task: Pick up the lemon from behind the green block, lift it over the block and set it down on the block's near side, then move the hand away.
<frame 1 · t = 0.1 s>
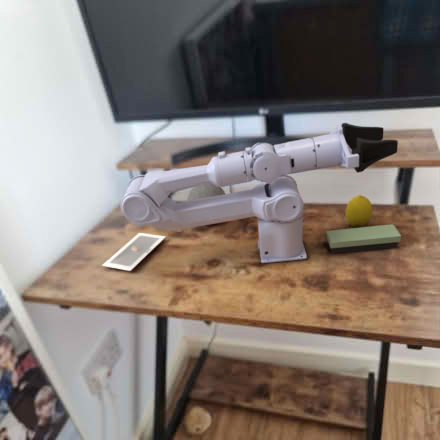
hand: (389, 139, 73), 22 cm above the table, tool horizontal, fingers open, 7 cm apart
decorative ball: (210, 221, 103), on the table
green block: (361, 245, 86), on the table
touchpad: (136, 255, 94), on the table
lemon: (356, 229, 92), on the table
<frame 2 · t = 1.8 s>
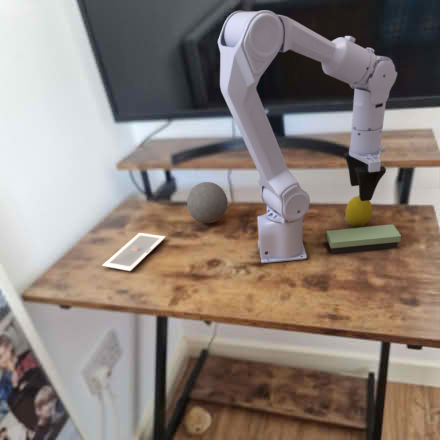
hand: (360, 192, 86), 9 cm above the table, tool pointing down, fingers open, 7 cm apart
nothing on the table moved.
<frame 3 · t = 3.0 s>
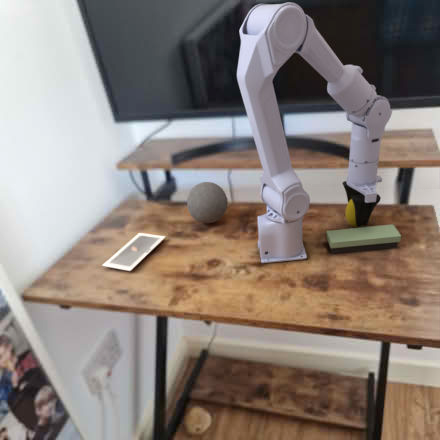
hand: (357, 218, 90), 2 cm above the table, tool pointing down, fingers closed on lemon, 5 cm apart
lemon: (356, 228, 92), on the table, touching gripper
everything else where it was.
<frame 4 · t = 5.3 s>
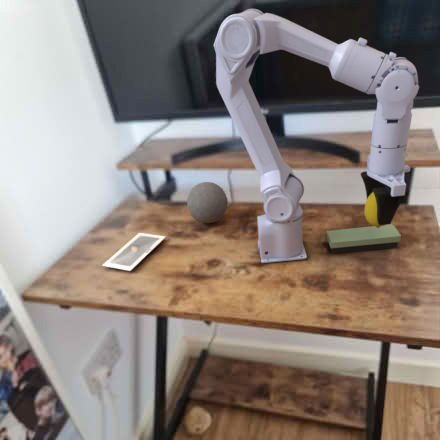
hand: (379, 216, 76), 9 cm above the table, tool pointing down, fingers closed on lemon, 5 cm apart
lemon: (377, 228, 77), point 7 cm above the table, touching gripper
everything else where it was.
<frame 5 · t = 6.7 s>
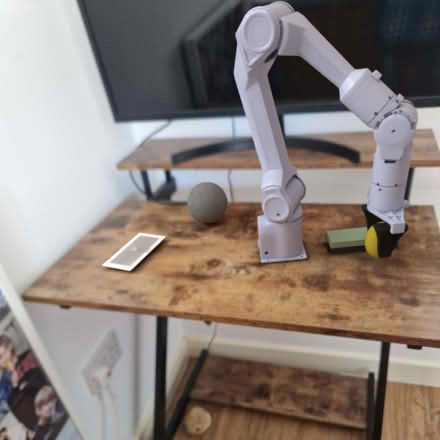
hand: (379, 248, 77), 4 cm above the table, tool pointing down, fingers closed on lemon, 5 cm apart
lemon: (377, 259, 79), point 1 cm above the table, touching gripper
everything else where it was.
when the fingers open (2 cm above the table, at t = 7.8 s): lemon stays where it is, on the table.
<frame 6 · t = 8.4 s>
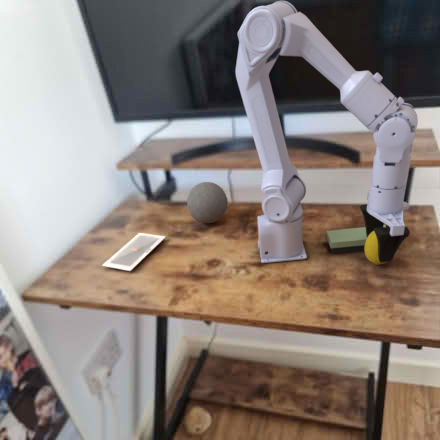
hand: (378, 250, 78), 3 cm above the table, tool pointing down, fingers open, 7 cm apart
lemon: (377, 265, 80), on the table
everything else where it was.
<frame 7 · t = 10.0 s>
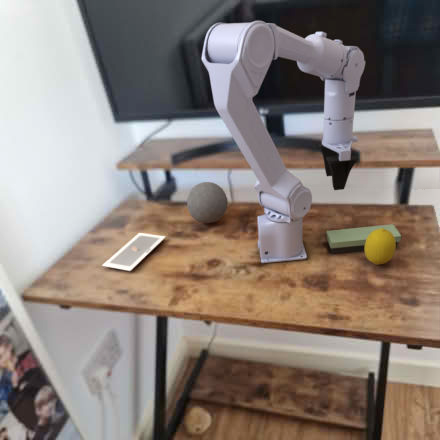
hand: (334, 182, 88), 10 cm above the table, tool pointing down, fingers open, 7 cm apart
nothing on the table moved.
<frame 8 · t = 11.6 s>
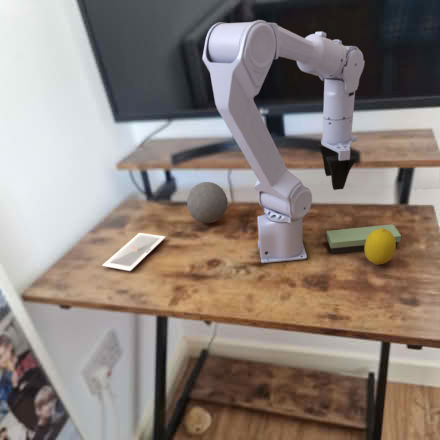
hand: (334, 181, 88), 10 cm above the table, tool pointing down, fingers open, 7 cm apart
nothing on the table moved.
at the end: lemon inside the target area on the table beside the green block (1.1 cm from its centre), on the table; the gripper is holding nothing; green block moved 0.0 cm from its start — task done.
